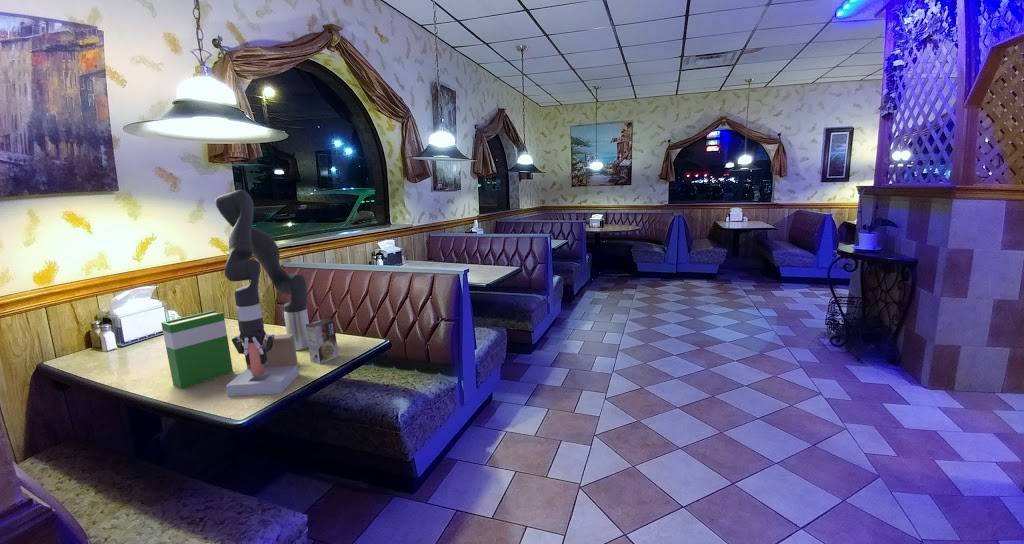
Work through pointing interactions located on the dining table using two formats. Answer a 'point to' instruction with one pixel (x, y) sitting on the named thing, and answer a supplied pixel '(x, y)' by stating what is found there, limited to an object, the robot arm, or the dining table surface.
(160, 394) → the dining table surface
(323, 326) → the coffee box
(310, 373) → the dining table surface
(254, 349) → the peg
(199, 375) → the hardback book
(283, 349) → the socket
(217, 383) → the dining table surface
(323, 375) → the dining table surface
